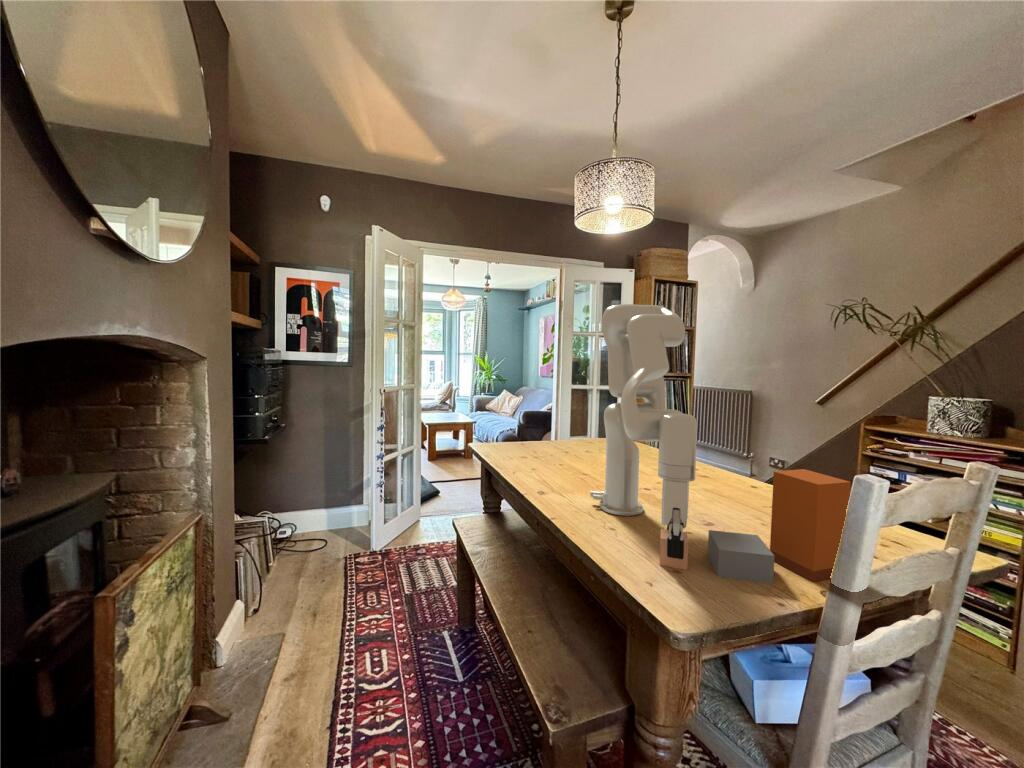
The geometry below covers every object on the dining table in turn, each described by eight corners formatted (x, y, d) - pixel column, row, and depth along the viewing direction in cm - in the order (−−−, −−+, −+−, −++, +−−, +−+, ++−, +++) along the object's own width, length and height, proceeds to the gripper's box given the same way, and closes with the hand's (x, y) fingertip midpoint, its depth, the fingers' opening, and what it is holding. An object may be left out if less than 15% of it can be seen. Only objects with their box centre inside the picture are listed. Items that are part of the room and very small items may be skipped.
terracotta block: (659, 565, 89) (660, 538, 88) (659, 554, 94) (660, 528, 94) (687, 570, 87) (688, 542, 86) (685, 558, 92) (686, 532, 92)
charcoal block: (718, 578, 84) (719, 549, 84) (707, 555, 94) (708, 530, 93) (773, 585, 82) (774, 555, 81) (756, 561, 91) (757, 535, 91)
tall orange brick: (847, 576, 85) (853, 481, 84) (813, 582, 82) (819, 484, 81) (801, 554, 95) (805, 468, 93) (769, 559, 92) (773, 471, 91)
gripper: (658, 460, 98) (657, 531, 99) (657, 478, 82) (655, 562, 83) (692, 463, 96) (691, 535, 96) (698, 482, 80) (696, 569, 80)
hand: (674, 548), depth 90 cm, fingers open, 9 cm apart
